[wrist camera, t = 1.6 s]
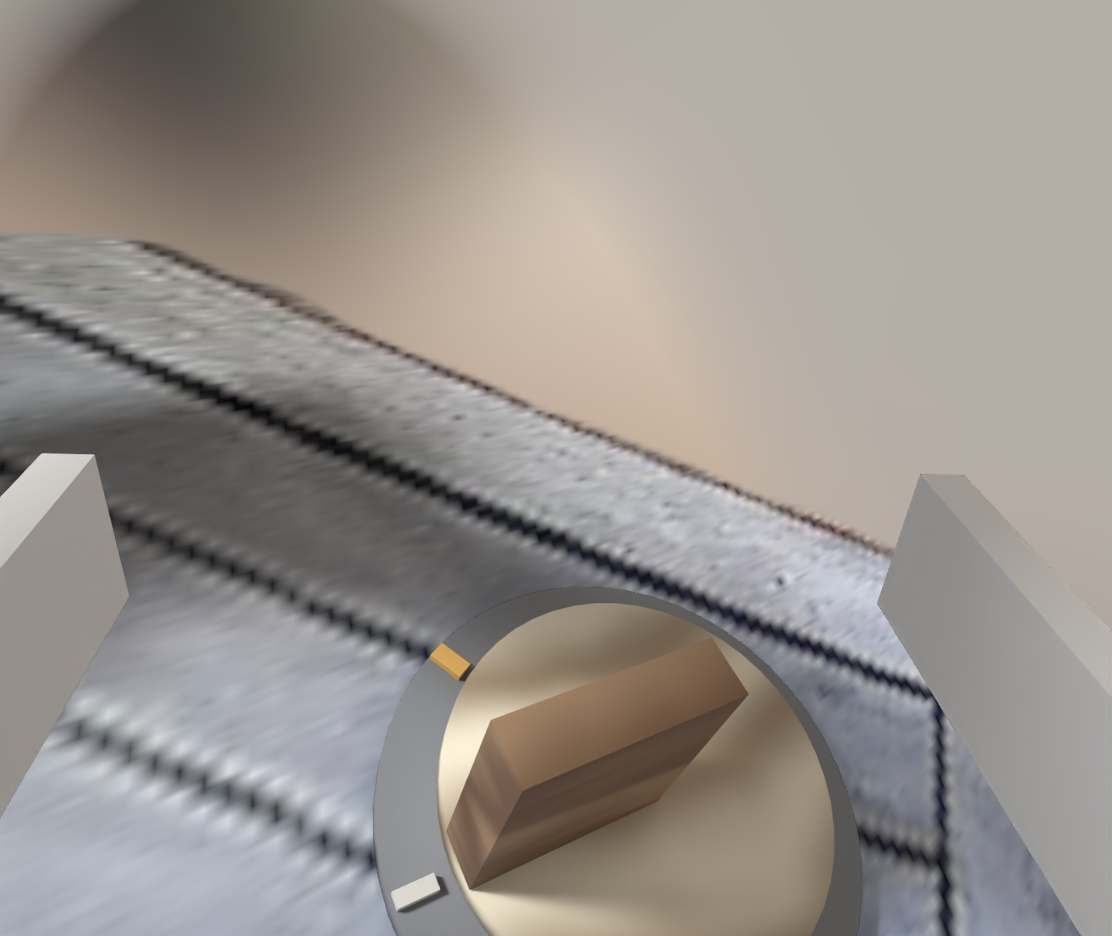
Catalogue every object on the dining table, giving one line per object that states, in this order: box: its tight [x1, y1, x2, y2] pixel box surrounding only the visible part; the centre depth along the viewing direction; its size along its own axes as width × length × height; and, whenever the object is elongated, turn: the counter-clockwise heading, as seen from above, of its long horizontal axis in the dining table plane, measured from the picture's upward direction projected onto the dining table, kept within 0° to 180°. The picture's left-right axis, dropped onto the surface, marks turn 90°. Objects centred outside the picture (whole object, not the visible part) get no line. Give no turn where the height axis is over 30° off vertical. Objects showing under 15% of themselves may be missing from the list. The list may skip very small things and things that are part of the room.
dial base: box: [373, 587, 862, 936], centre depth 39 cm, size 23×23×2 cm
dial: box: [436, 603, 834, 936], centre depth 34 cm, size 18×18×12 cm
